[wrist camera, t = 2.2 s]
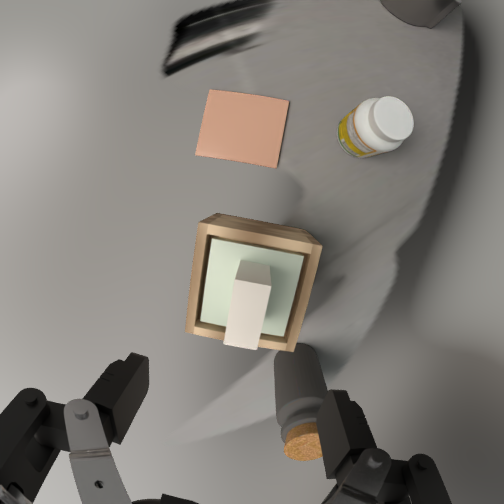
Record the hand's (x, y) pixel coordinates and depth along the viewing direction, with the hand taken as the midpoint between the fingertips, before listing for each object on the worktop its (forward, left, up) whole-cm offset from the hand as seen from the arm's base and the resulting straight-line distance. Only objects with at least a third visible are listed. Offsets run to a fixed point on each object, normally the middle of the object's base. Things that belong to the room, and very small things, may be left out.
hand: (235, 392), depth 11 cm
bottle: (-8, +12, -21) cm, 26 cm away
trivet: (+4, -15, -21) cm, 26 cm away
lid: (0, 0, -14) cm, 14 cm away
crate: (0, 0, -21) cm, 21 cm away
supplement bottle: (-9, -17, -21) cm, 29 cm away
